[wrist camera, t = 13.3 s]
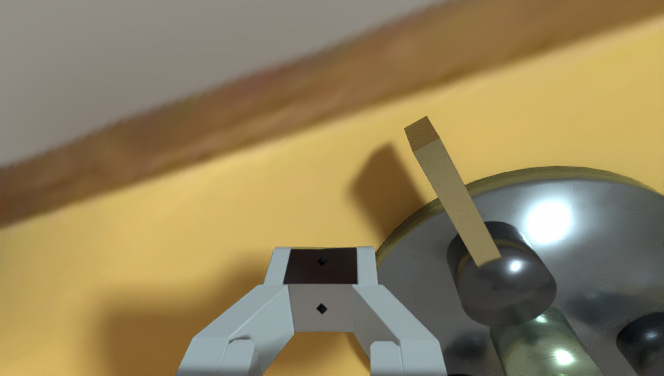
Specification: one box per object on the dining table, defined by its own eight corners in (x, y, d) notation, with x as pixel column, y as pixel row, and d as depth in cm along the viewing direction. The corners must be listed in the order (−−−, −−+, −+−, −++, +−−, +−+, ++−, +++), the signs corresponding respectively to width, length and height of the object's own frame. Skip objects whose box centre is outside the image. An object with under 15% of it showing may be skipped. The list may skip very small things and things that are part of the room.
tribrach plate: (780, 264, 22) (927, 356, 17) (526, 425, 33) (563, 516, 27) (495, 95, 18) (559, 139, 13) (309, 340, 29) (297, 426, 23)
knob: (537, 264, 21) (568, 309, 18) (464, 291, 22) (480, 337, 19) (459, 96, 16) (482, 117, 13) (373, 143, 18) (377, 173, 15)
